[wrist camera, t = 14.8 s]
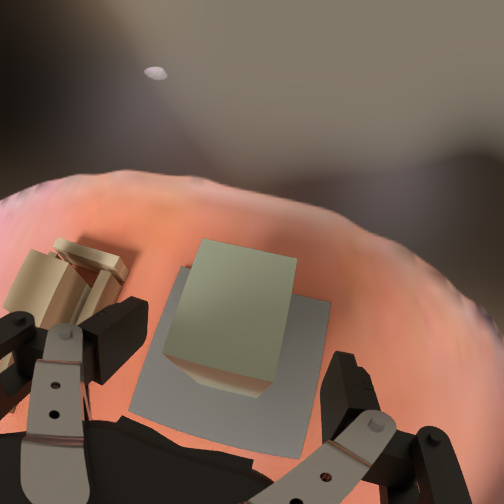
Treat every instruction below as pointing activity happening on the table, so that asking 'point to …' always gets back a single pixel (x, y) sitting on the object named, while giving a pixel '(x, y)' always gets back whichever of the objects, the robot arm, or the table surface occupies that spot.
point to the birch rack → (103, 287)
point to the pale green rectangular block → (232, 317)
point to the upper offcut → (45, 290)
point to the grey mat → (236, 405)
